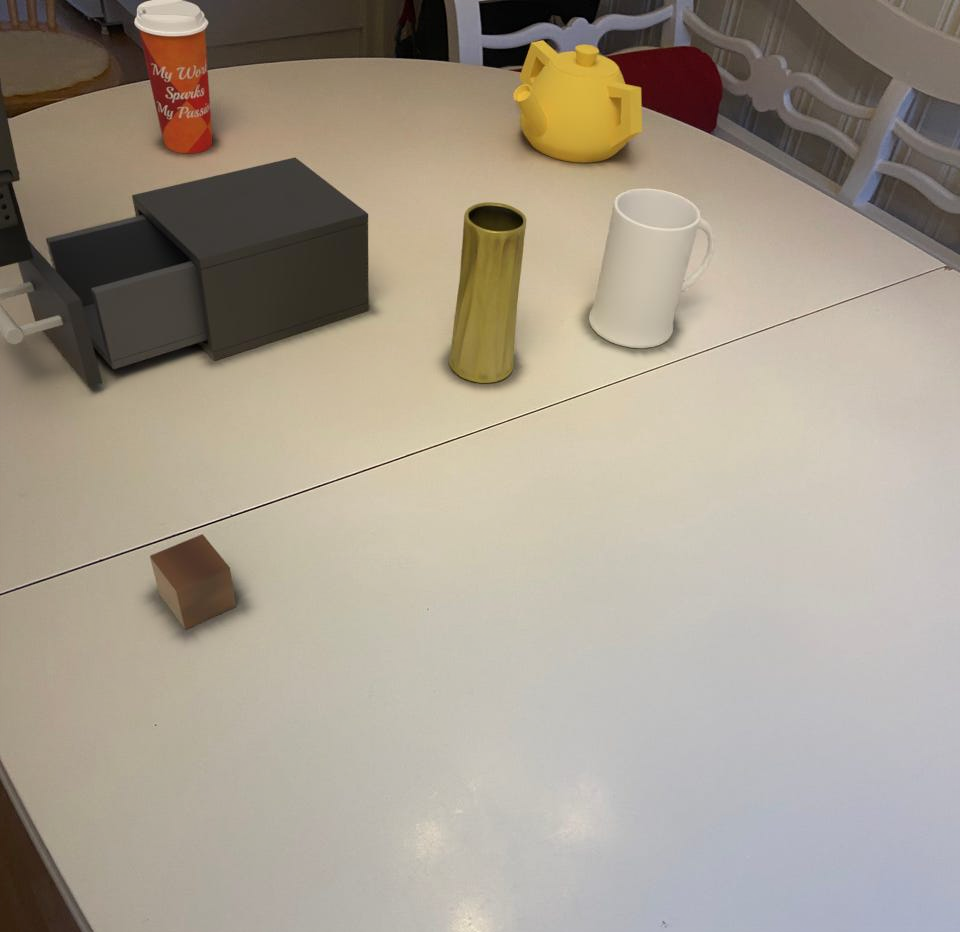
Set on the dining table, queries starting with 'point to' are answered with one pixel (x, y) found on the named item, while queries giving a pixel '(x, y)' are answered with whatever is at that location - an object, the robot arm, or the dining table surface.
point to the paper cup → (177, 71)
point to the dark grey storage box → (266, 251)
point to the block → (193, 581)
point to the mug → (646, 266)
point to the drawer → (110, 296)
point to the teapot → (576, 104)
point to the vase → (488, 292)
